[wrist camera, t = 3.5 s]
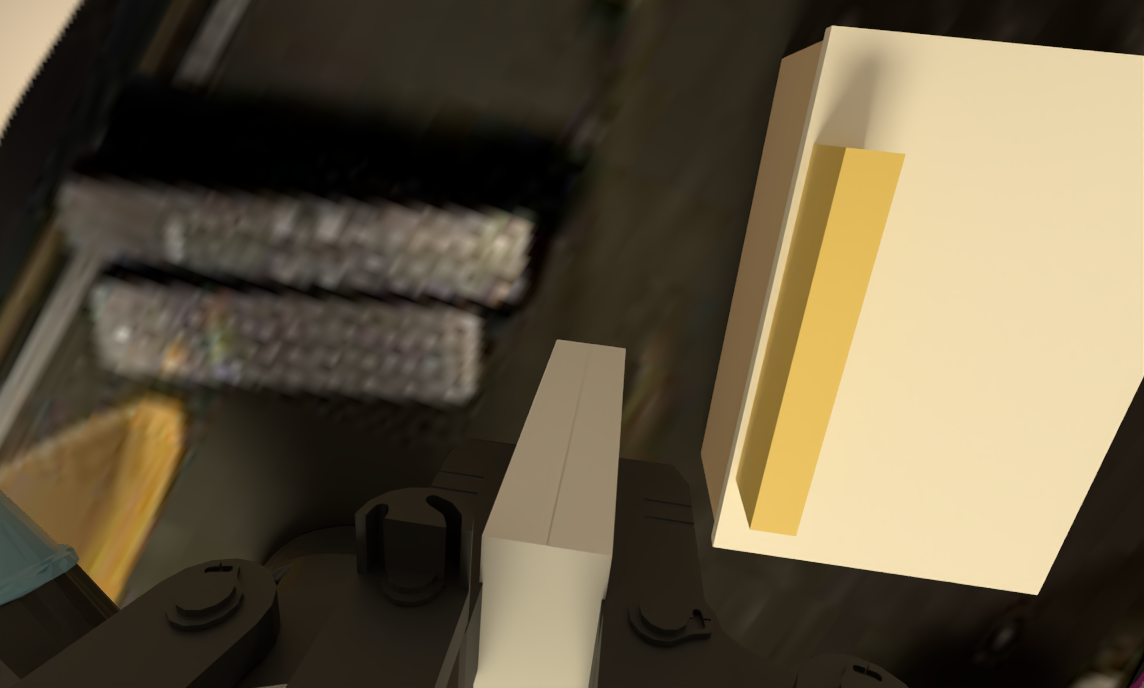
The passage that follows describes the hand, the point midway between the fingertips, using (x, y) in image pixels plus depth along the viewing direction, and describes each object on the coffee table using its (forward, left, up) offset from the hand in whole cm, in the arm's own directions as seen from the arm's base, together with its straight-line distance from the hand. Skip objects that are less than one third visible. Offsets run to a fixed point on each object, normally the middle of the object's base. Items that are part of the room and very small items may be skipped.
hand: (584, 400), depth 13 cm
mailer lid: (+12, 0, -8) cm, 14 cm away
